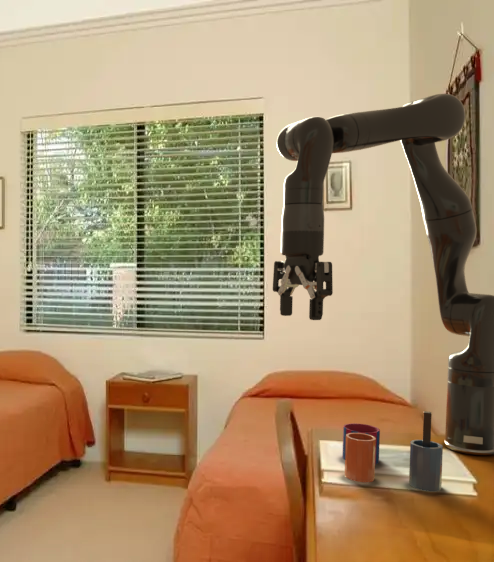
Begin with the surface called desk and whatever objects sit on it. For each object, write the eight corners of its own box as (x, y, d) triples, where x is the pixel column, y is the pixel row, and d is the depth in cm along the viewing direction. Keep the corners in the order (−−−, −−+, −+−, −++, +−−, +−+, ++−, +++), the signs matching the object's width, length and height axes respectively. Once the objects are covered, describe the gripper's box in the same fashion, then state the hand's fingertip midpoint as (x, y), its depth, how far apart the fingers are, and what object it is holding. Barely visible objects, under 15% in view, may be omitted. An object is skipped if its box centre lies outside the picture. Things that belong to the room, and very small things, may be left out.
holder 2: (423, 482, 108) (425, 438, 107) (447, 492, 103) (449, 446, 103) (402, 485, 106) (403, 441, 106) (425, 496, 101) (427, 449, 101)
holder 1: (360, 474, 111) (361, 431, 111) (380, 483, 107) (382, 439, 106) (338, 477, 110) (339, 434, 109) (358, 486, 105) (359, 442, 105)
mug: (381, 460, 119) (382, 427, 119) (371, 475, 111) (372, 439, 110) (346, 454, 123) (347, 421, 122) (334, 467, 114) (335, 432, 114)
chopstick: (420, 484, 105) (423, 411, 105) (428, 485, 105) (431, 411, 104) (421, 486, 104) (423, 412, 104) (428, 487, 104) (431, 413, 103)
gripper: (346, 228, 104) (343, 321, 105) (295, 231, 118) (293, 313, 118) (310, 227, 102) (308, 322, 102) (262, 230, 115) (260, 314, 116)
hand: (300, 317), depth 110 cm, fingers open, 8 cm apart
